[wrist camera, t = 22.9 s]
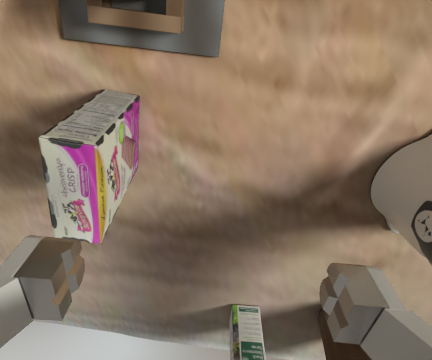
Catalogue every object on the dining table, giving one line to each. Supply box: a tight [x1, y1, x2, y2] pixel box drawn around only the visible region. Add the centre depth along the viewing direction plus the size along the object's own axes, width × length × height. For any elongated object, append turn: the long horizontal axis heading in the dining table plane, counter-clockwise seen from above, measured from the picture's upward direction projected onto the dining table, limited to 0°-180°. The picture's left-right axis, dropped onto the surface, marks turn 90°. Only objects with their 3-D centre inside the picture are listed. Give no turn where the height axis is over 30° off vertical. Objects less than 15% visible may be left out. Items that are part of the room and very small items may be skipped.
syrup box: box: [230, 304, 266, 360], centre depth 55 cm, size 6×6×14 cm
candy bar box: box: [39, 89, 140, 243], centre depth 33 cm, size 11×5×16 cm, turn 171°
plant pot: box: [318, 310, 372, 360], centre depth 54 cm, size 16×16×16 cm
